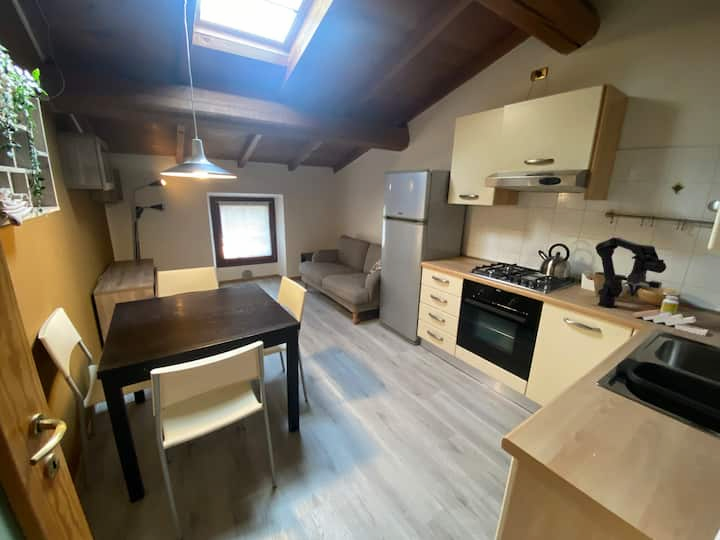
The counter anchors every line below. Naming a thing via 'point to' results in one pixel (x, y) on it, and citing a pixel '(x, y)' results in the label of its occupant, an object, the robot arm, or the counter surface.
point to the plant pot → (599, 282)
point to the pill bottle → (669, 304)
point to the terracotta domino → (646, 313)
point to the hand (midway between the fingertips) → (632, 296)
